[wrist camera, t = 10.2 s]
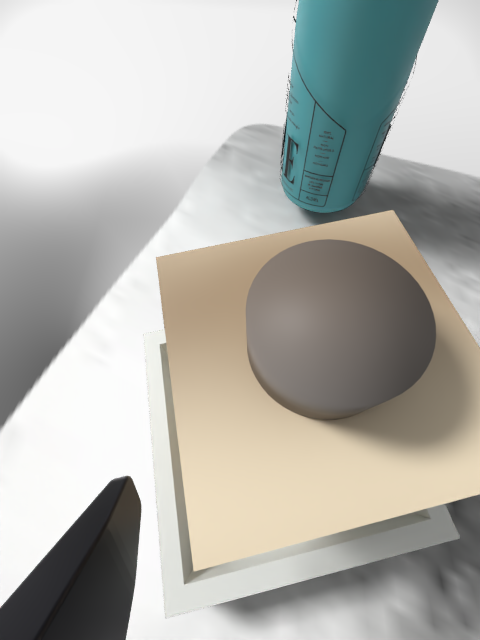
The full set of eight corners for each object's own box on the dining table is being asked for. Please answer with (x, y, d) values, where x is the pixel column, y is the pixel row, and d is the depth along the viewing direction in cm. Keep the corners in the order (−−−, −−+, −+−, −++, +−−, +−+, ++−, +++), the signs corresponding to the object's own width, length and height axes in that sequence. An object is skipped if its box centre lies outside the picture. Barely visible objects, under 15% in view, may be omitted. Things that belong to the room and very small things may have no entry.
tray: (420, 523, 14) (460, 538, 11) (182, 586, 13) (165, 618, 11) (335, 314, 19) (348, 290, 16) (159, 352, 18) (143, 333, 16)
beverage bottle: (375, 209, 23) (831, -714, 5) (305, 243, 22) (565, -817, 4) (326, 162, 25) (504, -554, 7) (260, 190, 24) (285, -582, 6)
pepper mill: (333, 463, 15) (674, 478, 3) (237, 488, 14) (167, 618, 3) (302, 370, 17) (423, 155, 5) (218, 389, 17) (133, 210, 5)
